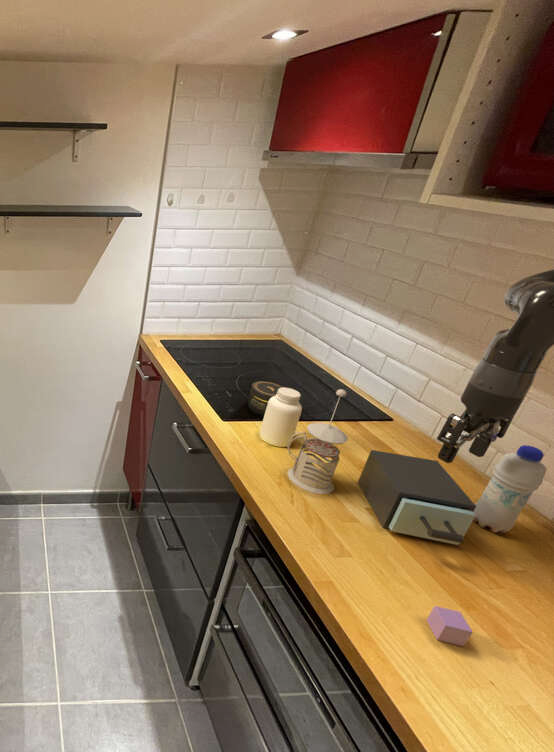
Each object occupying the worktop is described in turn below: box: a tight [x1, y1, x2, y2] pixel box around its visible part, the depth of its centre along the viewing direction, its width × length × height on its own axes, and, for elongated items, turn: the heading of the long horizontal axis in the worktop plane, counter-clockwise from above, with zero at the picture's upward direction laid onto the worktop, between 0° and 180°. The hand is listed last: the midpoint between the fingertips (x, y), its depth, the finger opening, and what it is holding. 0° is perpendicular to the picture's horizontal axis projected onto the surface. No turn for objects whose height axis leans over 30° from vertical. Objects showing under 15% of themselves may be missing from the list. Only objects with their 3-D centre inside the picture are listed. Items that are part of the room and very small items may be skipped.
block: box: [425, 605, 474, 647], centre depth 73 cm, size 4×4×4 cm
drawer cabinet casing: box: [357, 449, 476, 530], centre depth 97 cm, size 15×13×10 cm
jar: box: [247, 380, 285, 417], centre depth 136 cm, size 10×10×8 cm
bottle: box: [473, 444, 547, 534], centre depth 92 cm, size 7×7×20 cm
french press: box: [286, 388, 349, 495], centre depth 103 cm, size 10×12×25 cm
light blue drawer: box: [389, 496, 476, 546], centre depth 93 cm, size 19×12×8 cm, turn 163°
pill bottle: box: [259, 387, 303, 448], centre depth 120 cm, size 8×8×15 cm
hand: (459, 457), depth 89 cm, fingers open, 8 cm apart
